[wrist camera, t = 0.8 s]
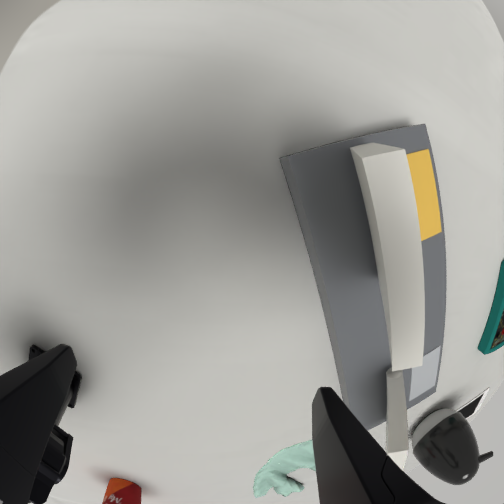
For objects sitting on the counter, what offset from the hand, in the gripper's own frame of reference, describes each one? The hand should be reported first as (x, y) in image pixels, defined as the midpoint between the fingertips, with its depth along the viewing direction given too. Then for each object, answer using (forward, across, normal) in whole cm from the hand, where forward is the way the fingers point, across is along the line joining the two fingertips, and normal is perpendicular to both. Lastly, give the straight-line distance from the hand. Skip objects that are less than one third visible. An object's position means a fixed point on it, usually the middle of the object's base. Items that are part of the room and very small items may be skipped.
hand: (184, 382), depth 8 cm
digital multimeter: (+18, -39, +6) cm, 44 cm away
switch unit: (+14, -15, +5) cm, 21 cm away
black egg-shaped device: (+15, -35, +28) cm, 47 cm away
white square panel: (+12, -10, -4) cm, 16 cm away
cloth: (+12, -14, +35) cm, 40 cm away
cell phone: (+16, -46, +31) cm, 58 cm away
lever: (+11, -19, +14) cm, 26 cm away
